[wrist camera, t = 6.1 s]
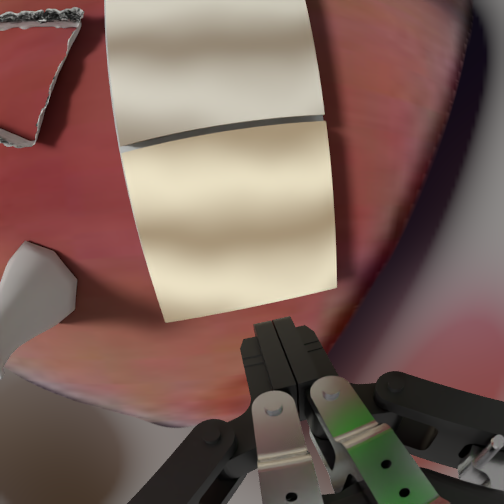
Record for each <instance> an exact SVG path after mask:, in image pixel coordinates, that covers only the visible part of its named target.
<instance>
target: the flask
mask: <svg viewBox="0 0 504 504" xmlns="http://www.w3.org/2000/svg"><path fill="white" fill-rule="evenodd" d="M76 288H77V279H76V278H75V276H74V275H73V274H72V273H71V272H70V270H69V269H68V268H67V267H66V266H65V264H64V263H63V262H62V261H61V259H60V258H59V257H58V256H57V254H56V253H55V252H54V251H52V250H50V249H47V248H44V247H41V246H38V245H36V244H33V243H30V242H27V241H24V243H23V244H22V245H21V246H20V247H19V249H18V250H17V251H16V252H15V253H14V255H13V256H12V257H11V258H10V260H9V261H8V264H7V266H6V268H5V271H4V274H3V277H2V279H1V282H0V380H1V379H2V378H3V376H4V373H5V372H4V365H5V363H6V362H7V360H8V359H9V357H10V355H11V354H12V353H13V352H14V351H15V350H16V349H17V348H18V347H19V346H21V345H22V344H24V343H25V342H27V341H29V340H30V339H32V338H33V337H35V336H37V335H39V334H41V333H42V332H44V331H46V330H48V329H50V328H52V327H54V326H55V325H57V324H58V323H59V322H60V321H62V320H63V319H64V318H65V317H67V316H68V315H69V314H70V313H71V312H73V311H74V310H75V300H76Z"/></svg>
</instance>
